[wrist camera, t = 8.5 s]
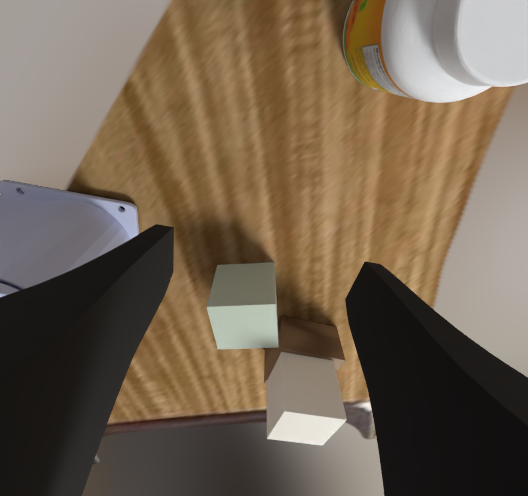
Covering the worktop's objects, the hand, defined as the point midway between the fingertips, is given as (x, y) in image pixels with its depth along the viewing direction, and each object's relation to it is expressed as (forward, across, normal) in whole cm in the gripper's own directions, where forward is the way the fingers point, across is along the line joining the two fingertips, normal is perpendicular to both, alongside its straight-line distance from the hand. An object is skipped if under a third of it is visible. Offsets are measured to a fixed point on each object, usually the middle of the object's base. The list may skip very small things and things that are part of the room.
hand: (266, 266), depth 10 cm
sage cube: (+10, 0, +11) cm, 15 cm away
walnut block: (+11, -7, +17) cm, 21 cm away
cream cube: (+7, -7, +17) cm, 19 cm away
